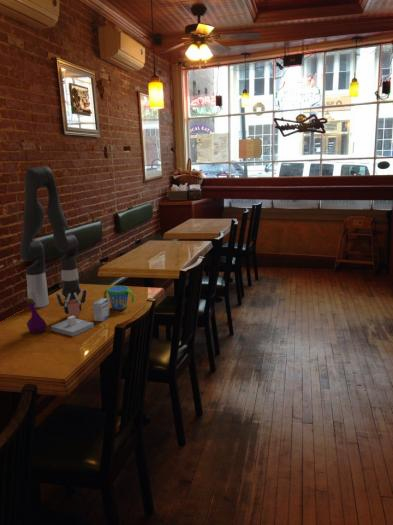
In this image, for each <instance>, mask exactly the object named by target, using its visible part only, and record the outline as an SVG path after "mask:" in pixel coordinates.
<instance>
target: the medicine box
mask: <svg viewBox="0 0 393 525" xmlns="http://www.w3.org/2000/svg"><path fill="white" fill-rule="evenodd" d="M109 302H110V300H109V298H107V299H106V298H104V297H103V298H102V297H101V298H99V299H98V300H95V302H94V303H92V310H93V317H94V321H95V322H105V320H107V319H108V318H109V317H110V314H111V313H110V305H109V304H110V303H109Z"/></svg>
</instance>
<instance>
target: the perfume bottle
mask: <svg viewBox="0 0 393 525" xmlns="http://www.w3.org/2000/svg"><path fill="white" fill-rule="evenodd" d="M33 293H37V292H36V291H33V292H32V293H31V294H30V296H31V295H32V294H33ZM37 294H38V293H37ZM38 296H39V294H38ZM25 301H26V302H25V307H28V308H29V309H30V312H31V316H30V318H29V319H28V321H27V322H26V327H27V328H28V330H29V331H30V333H31V334H33V335H36V334H41V333H44V331H46V328H47V326H48V324H47V322H46V320H45V319H44V318H43V317H42V316H41V315H40V314H39V313H38V311H37V309H36V308H35V307H34V305H35V304H36V303H35V302H33V299H30V297H29V299H28V298H27V299H26V300H25Z"/></svg>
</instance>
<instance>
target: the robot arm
mask: <svg viewBox="0 0 393 525" xmlns="http://www.w3.org/2000/svg"><path fill="white" fill-rule="evenodd" d="M43 188H45V189H46V190H47V195H48V199H47V200H48V201H47V207H46V212H45V209H44V208H45V207H44V206H43V205H42V203H41V201H39V198H38V190H39V189H43ZM24 194H25V195H24V209H23V210H24V211H23V219H22V220H23V222H22V223H23V224H22V234H21V240H20V243H19V244H20V246H19V256H20V259H21V260H22V261H24V262H30V261H34V262H33V263H32V264H31V265H29V266H28V267H26V268H25V277H26V284H27V287H26V292H27V299H29V297H30V299H33V302H35V303H36V304H35V305H34V307H35V309H36V308H37V309H39V308H45V307H47V306H49V303H50V302H49V294H48V285H47V283H48V282H47V275H46V261H45V259H46V258H45V247H44V244H43V243H42V242H41V241H40V240H35V241H32V240H33V239H34V237H35V236H36V235H37V234H38V233H39V231H40V230H41V229H42V227H43V226H44V223H45V215H47V219H48V222H49V224H50V227H51V229H52V235H53V242H54V245H55V248H56V249H57V250H58V251H59V252H61V253H64V255H63V256H61V257H60V272H61V273H60V279H61V286H62V290H61V292H60V293H57V292H56V294H55V296H56V298H57V301H58V304H59V306H60V307H63V310H64V313H65V314H66V315H68V307H67V303H68V302H69V300H71V299H76V300H77V302H79V309H80V312H81V311H82V304H85V302H86V296H87V290H86V289H81V288H80V280H79V279H80V278H79V271H78V264H77V256H78V250H79V241H78V238H77V237H76V236H75V235H74V234H67V235H66V230H67V229H68V228H69V225H68V224H69V223H68V221H67V219H66V217H65V214H64V211H63V209H62V205H61V202H60V196H59V192H58V189H57V185H56V181H55V176H54V173H53V171H52V169H51V168H50V167H49V166H47V165H42V166H41V165H40V166H35V167H29V168H27V169H26V171H25V174H24ZM33 291H36V292H37V293H38V294H39V296H38V294H37V293H33V294H32V295H31V296H30V294H31V293H32V292H33ZM80 294H81V298H79V295H80ZM63 297H64V301H62V298H63Z"/></svg>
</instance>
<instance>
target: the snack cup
mask: <svg viewBox="0 0 393 525" xmlns="http://www.w3.org/2000/svg"><path fill="white" fill-rule="evenodd" d="M107 293H108V296H109V298H108V297H107ZM129 295H130V296H131V301H130V302H131V303H132V304H133V303H134V301H135V296H134V293H133V291H132V290H131V289H130V287H129V286H127V285H114V286H110V287H108V288H106V290H105V291H104V292H103V298H106V299H109V302H110V305H111V308H112V310H115V311H116V310H117V311H119V310H120V311H121V310H125V309H127V307H128V301H129V300H128V298H129Z"/></svg>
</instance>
